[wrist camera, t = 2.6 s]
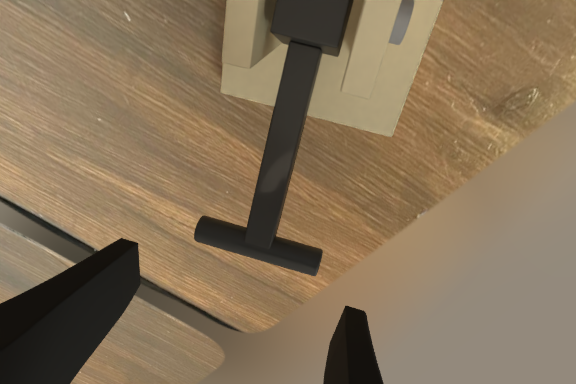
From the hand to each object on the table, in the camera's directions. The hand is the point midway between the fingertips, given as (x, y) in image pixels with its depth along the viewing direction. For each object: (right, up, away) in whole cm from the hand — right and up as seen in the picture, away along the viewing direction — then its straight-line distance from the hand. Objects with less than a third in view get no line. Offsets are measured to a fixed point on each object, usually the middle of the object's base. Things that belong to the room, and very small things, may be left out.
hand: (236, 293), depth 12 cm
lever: (+2, +6, +2) cm, 7 cm away
